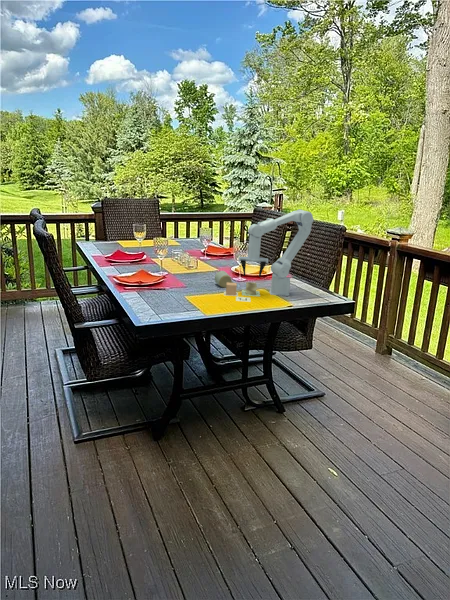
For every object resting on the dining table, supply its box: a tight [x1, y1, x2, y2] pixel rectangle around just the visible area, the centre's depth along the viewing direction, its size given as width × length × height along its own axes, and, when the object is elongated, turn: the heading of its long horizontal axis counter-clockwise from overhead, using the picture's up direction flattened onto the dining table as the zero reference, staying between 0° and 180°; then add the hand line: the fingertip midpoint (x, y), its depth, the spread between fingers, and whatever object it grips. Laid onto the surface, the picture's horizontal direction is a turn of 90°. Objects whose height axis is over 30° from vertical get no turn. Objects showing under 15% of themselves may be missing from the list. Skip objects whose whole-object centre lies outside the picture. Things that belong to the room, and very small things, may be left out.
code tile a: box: [235, 296, 251, 303], centre depth 209 cm, size 7×7×1 cm
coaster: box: [241, 289, 261, 297], centre depth 220 cm, size 9×9×1 cm
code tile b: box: [223, 290, 239, 297], centre depth 217 cm, size 7×7×1 cm
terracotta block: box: [225, 282, 238, 296], centre depth 216 cm, size 5×5×5 cm
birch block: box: [245, 281, 258, 295], centre depth 219 cm, size 5×5×5 cm
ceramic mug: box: [214, 270, 235, 289], centre depth 230 cm, size 11×8×8 cm
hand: (252, 275), depth 217 cm, fingers open, 7 cm apart
